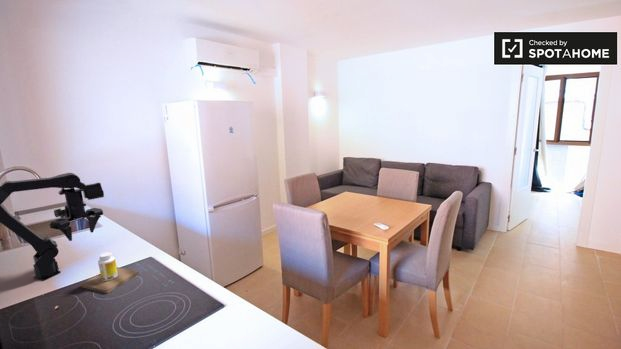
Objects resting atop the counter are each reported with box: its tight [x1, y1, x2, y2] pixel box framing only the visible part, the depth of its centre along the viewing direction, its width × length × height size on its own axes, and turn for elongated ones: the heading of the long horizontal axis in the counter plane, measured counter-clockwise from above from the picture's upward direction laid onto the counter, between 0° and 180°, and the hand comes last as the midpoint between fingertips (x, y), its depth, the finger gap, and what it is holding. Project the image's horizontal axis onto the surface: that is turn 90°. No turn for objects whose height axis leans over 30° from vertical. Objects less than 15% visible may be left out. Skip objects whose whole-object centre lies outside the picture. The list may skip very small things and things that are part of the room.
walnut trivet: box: [80, 266, 140, 294], centre depth 121 cm, size 14×14×1 cm
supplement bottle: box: [97, 251, 118, 281], centre depth 120 cm, size 6×6×10 cm
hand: (81, 236), depth 132 cm, fingers open, 9 cm apart
